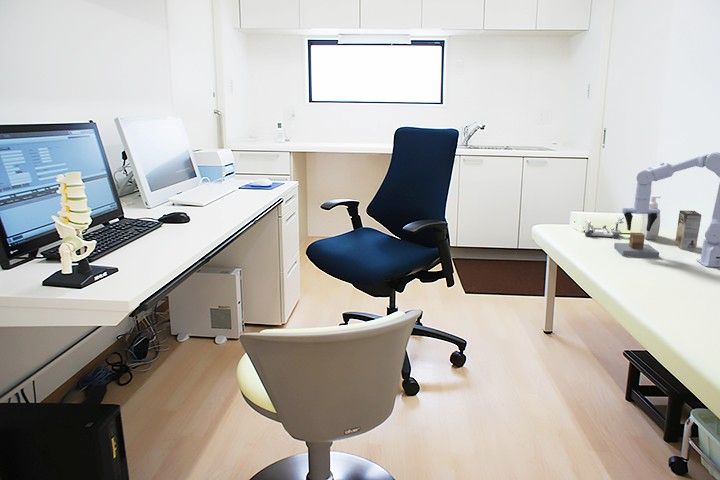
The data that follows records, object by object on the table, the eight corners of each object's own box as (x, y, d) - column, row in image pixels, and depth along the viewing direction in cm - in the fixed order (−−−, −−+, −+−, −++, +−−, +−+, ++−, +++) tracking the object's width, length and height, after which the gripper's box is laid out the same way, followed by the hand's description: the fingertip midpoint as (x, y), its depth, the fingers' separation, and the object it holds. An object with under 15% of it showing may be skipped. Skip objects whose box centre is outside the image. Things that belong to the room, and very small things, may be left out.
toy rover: (623, 215, 276) (627, 219, 265) (620, 234, 278) (625, 240, 267) (584, 213, 280) (586, 217, 270) (582, 232, 283) (584, 237, 272)
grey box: (658, 259, 235) (659, 252, 234) (622, 257, 237) (623, 250, 237) (647, 250, 248) (648, 244, 248) (613, 249, 251) (614, 242, 250)
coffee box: (674, 244, 258) (679, 210, 254) (689, 245, 257) (694, 210, 253) (680, 249, 249) (686, 213, 245) (696, 250, 248) (702, 214, 244)
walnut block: (643, 248, 239) (644, 235, 238) (631, 248, 240) (633, 234, 239) (640, 246, 244) (641, 232, 242) (628, 245, 245) (630, 232, 243)
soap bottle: (658, 241, 264) (664, 199, 259) (646, 240, 265) (651, 198, 260) (651, 234, 279) (656, 194, 274) (639, 233, 280) (644, 193, 275)
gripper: (657, 197, 240) (653, 229, 243) (621, 196, 242) (617, 227, 245) (663, 200, 233) (659, 232, 236) (626, 199, 235) (622, 231, 239)
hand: (638, 230), depth 240 cm, fingers open, 7 cm apart
